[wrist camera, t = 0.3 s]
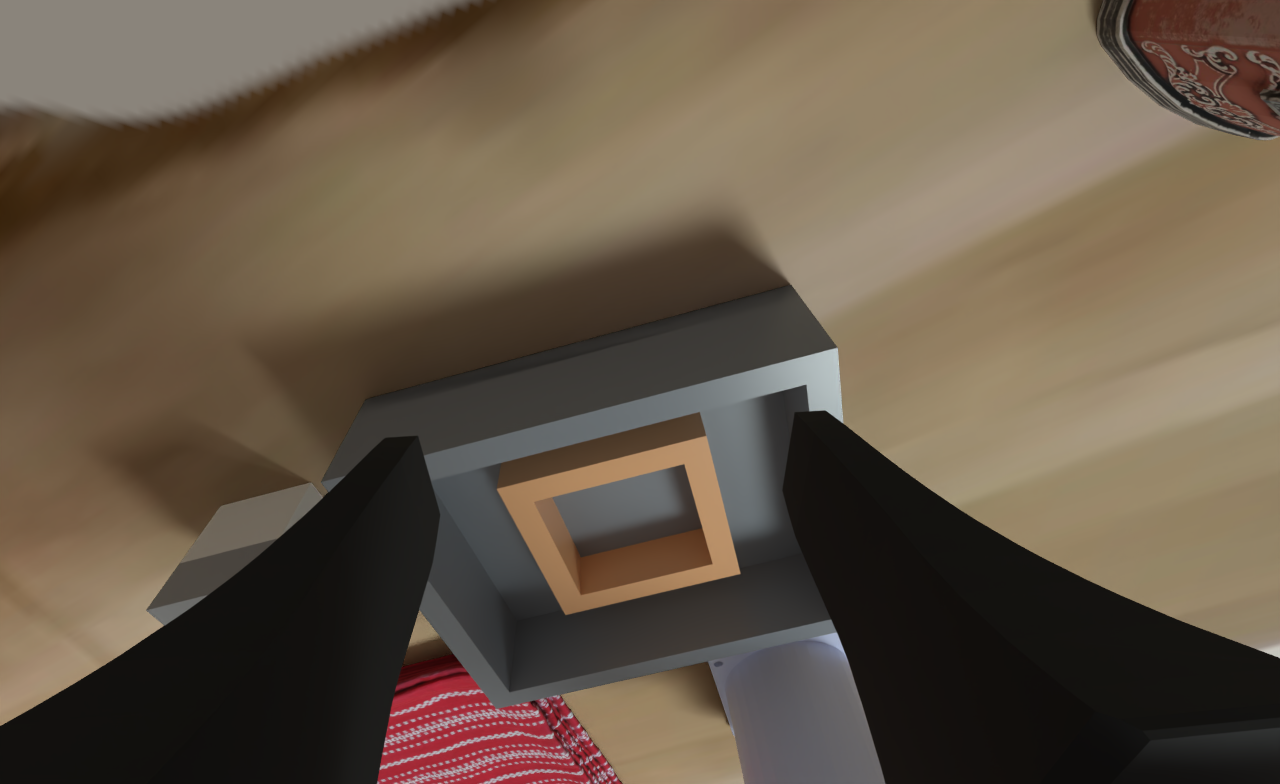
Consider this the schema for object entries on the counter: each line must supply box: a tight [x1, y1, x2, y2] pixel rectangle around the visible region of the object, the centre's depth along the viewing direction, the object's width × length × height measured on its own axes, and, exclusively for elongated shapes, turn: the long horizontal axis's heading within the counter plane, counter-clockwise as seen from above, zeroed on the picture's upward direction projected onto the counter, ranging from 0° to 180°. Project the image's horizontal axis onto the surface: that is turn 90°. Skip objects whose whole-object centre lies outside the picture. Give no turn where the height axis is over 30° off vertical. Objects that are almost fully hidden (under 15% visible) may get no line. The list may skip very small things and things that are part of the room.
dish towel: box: [377, 654, 623, 784], centre depth 37 cm, size 17×24×3 cm
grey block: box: [146, 482, 323, 626], centre depth 23 cm, size 4×4×5 cm
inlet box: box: [321, 285, 843, 709], centre depth 23 cm, size 14×16×4 cm
